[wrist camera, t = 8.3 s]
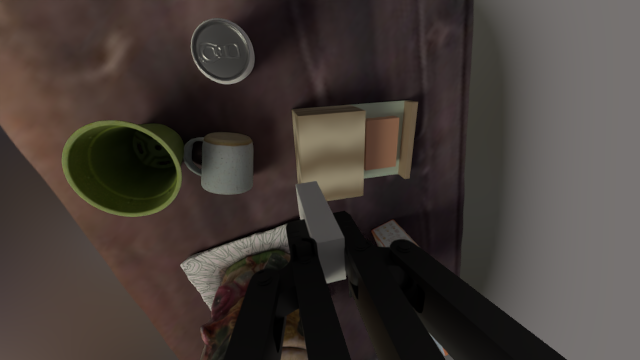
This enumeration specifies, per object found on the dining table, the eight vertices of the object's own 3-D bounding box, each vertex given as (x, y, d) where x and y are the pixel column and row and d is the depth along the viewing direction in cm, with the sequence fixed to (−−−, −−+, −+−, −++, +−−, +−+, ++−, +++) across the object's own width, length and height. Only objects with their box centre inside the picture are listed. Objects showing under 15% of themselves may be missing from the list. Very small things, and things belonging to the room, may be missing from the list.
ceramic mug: (254, 131, 42) (252, 143, 35) (253, 177, 45) (251, 197, 38) (183, 126, 39) (166, 138, 32) (187, 175, 42) (173, 196, 35)
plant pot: (160, 90, 36) (124, 98, 26) (216, 155, 42) (203, 183, 32) (92, 135, 37) (31, 159, 27) (156, 194, 42) (125, 233, 32)
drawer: (349, 104, 43) (356, 106, 41) (408, 100, 45) (418, 102, 43) (349, 179, 49) (354, 185, 46) (401, 172, 51) (409, 178, 48)
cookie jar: (331, 296, 61) (397, 498, 32) (230, 334, 58) (205, 590, 30) (303, 213, 50) (366, 406, 21) (178, 255, 48) (60, 537, 19)
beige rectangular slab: (291, 109, 42) (297, 116, 35) (349, 104, 43) (365, 110, 37) (298, 186, 47) (304, 204, 41) (349, 179, 49) (363, 195, 43)
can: (201, 33, 35) (177, 17, 24) (249, 29, 36) (246, 12, 25) (214, 83, 38) (197, 88, 27) (258, 78, 39) (259, 81, 28)
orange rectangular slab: (399, 117, 44) (393, 115, 46) (366, 120, 43) (362, 118, 44) (395, 166, 47) (390, 162, 49) (365, 170, 46) (361, 166, 48)
